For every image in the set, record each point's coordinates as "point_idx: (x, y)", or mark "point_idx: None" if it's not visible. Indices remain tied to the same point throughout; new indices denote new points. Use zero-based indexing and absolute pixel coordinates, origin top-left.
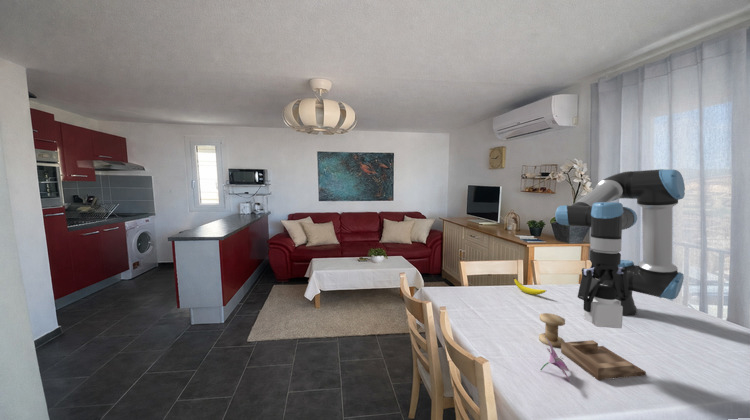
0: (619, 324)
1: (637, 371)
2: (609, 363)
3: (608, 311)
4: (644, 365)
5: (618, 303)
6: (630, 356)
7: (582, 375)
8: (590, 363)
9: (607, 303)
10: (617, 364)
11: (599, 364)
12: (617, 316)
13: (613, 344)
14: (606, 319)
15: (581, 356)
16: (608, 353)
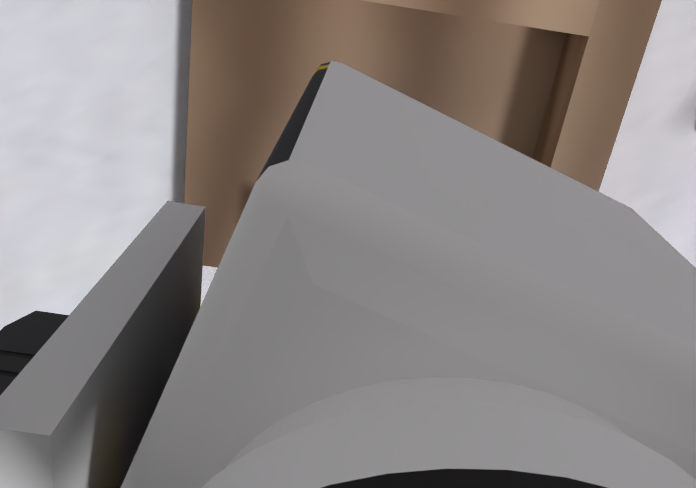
0: (361, 85)
1: None
2: (491, 9)
3: (592, 253)
4: (77, 12)
5: (77, 399)
6: (69, 128)
7: (671, 57)
8: (638, 63)
9: (600, 423)
10: None
11: (591, 23)
12: (405, 135)
13: (47, 272)
14: (559, 197)
15: (606, 156)
16: (240, 178)
